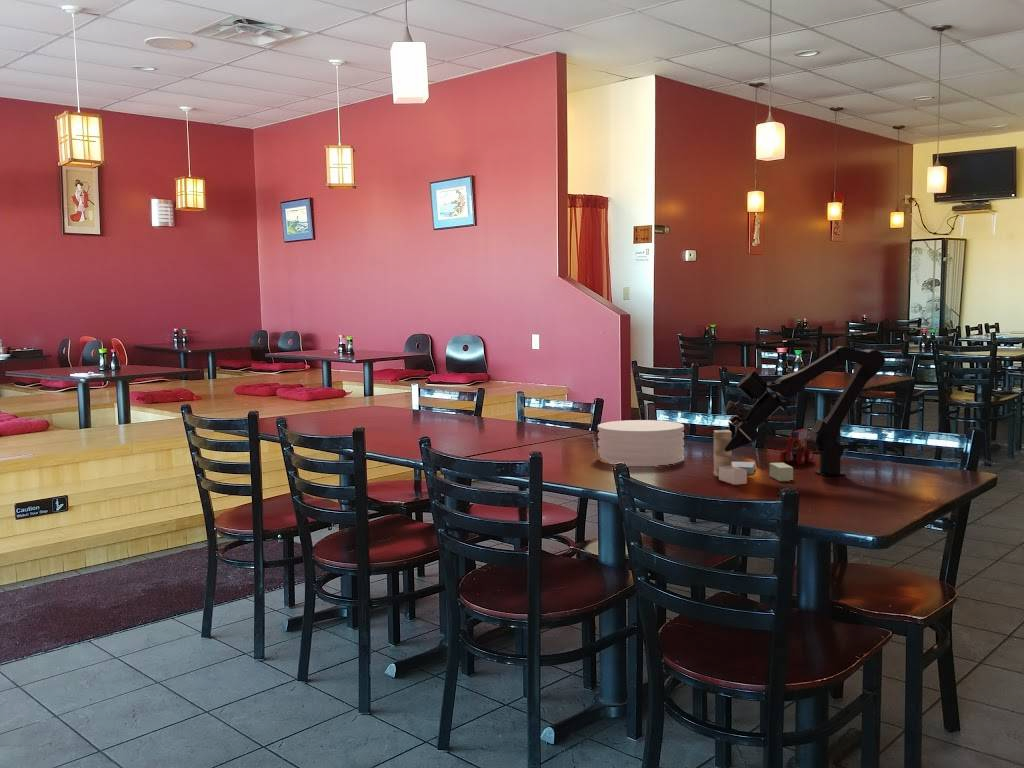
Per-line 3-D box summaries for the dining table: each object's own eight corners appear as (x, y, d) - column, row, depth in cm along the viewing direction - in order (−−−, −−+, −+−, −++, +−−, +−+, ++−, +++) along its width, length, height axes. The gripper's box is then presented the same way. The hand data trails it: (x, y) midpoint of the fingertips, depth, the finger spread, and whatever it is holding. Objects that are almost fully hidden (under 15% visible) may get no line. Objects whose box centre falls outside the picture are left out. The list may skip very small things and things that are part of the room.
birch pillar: (729, 473, 262) (729, 430, 261) (731, 476, 258) (731, 432, 257) (713, 473, 262) (713, 430, 261) (715, 476, 258) (715, 432, 257)
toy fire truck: (776, 464, 276) (776, 431, 275) (795, 459, 285) (795, 427, 284) (797, 466, 271) (798, 433, 270) (815, 461, 280) (815, 428, 279)
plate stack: (614, 451, 309) (613, 418, 308) (693, 455, 297) (693, 421, 296) (585, 464, 284) (585, 429, 283) (671, 469, 272) (670, 432, 271)
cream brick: (746, 484, 247) (746, 469, 247) (734, 485, 246) (734, 471, 245) (731, 479, 254) (731, 465, 254) (719, 480, 253) (718, 466, 253)
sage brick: (793, 481, 249) (793, 467, 249) (779, 481, 249) (779, 467, 249) (783, 476, 257) (783, 462, 257) (769, 476, 257) (769, 463, 257)
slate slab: (754, 470, 269) (754, 462, 269) (752, 475, 260) (752, 467, 260) (724, 469, 272) (724, 461, 272) (721, 474, 263) (721, 466, 263)
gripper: (736, 388, 267) (699, 424, 269) (747, 394, 248) (707, 433, 250) (762, 414, 267) (725, 450, 269) (776, 422, 248) (735, 460, 250)
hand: (722, 448), depth 259 cm, fingers open, 9 cm apart
